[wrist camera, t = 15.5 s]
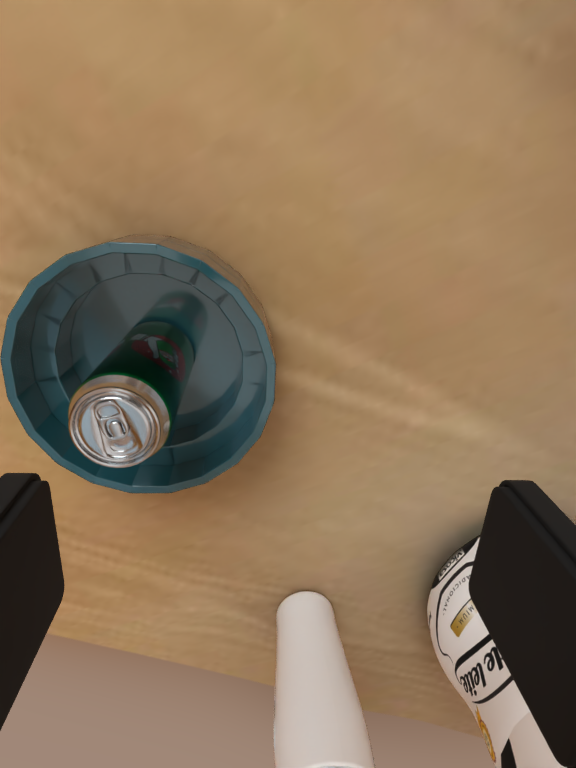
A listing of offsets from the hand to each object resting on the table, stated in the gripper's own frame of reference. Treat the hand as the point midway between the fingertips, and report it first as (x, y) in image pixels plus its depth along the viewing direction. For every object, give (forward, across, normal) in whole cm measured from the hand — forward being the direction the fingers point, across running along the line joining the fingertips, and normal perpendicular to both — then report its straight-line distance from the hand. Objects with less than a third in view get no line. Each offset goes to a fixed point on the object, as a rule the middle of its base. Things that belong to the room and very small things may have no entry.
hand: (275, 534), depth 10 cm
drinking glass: (+25, -5, +29) cm, 39 cm away
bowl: (+25, +7, +4) cm, 27 cm away
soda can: (+25, +7, +4) cm, 26 cm away
